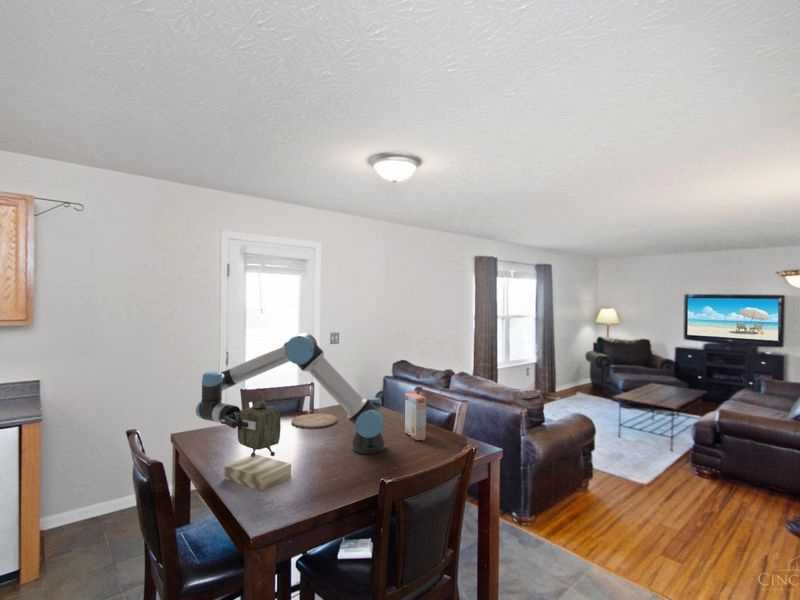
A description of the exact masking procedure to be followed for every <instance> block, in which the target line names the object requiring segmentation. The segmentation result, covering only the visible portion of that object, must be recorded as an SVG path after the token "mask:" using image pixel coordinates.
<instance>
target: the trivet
mask: <svg viewBox="0 0 800 600" xmlns="http://www.w3.org/2000/svg"><path fill="white" fill-rule="evenodd" d="M337 420H338V418H337V417H336V416H335V415H333V414H329V413H309V414H301V415H297V416H296V417H294V418H292V420H291V426H293V427H294V426H296V427H295V428H298V427H300V428H299V429H304V428H317V429H323V428H322V427H324V428H328V427H327V426H329V427H331V426H330V425H332V426H334V425H335V424H337V422H338V421H337ZM333 424H334V425H333Z"/></svg>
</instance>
